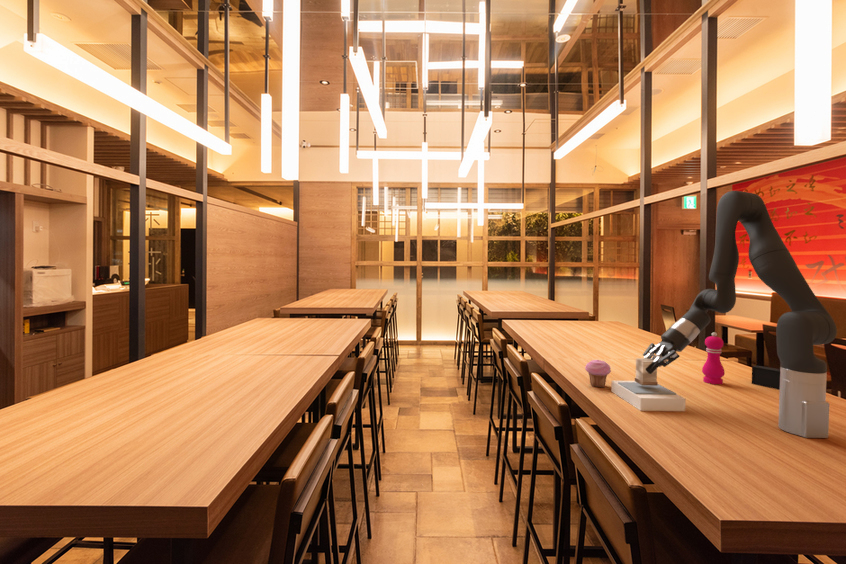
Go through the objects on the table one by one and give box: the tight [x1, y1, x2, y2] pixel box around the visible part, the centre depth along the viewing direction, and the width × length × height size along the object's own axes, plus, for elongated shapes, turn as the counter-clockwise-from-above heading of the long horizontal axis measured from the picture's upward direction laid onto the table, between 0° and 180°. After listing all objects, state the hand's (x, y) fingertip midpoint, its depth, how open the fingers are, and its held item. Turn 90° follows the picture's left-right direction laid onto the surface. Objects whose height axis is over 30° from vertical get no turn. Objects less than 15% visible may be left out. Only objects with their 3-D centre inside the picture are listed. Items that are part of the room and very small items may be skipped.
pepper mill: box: [701, 331, 725, 385], centre depth 157 cm, size 7×7×20 cm
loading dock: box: [610, 379, 687, 412], centre depth 135 cm, size 20×14×4 cm
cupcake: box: [584, 359, 612, 388], centre depth 152 cm, size 9×9×10 cm
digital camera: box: [751, 365, 780, 391], centre depth 153 cm, size 10×5×7 cm, turn 29°
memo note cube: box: [634, 357, 659, 386], centre depth 135 cm, size 5×5×8 cm
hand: (643, 369), depth 135 cm, fingers closed on memo note cube, 4 cm apart
